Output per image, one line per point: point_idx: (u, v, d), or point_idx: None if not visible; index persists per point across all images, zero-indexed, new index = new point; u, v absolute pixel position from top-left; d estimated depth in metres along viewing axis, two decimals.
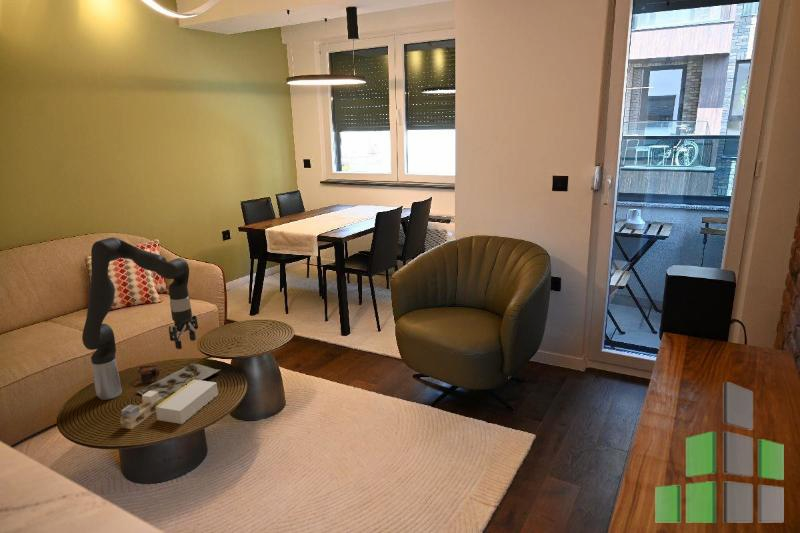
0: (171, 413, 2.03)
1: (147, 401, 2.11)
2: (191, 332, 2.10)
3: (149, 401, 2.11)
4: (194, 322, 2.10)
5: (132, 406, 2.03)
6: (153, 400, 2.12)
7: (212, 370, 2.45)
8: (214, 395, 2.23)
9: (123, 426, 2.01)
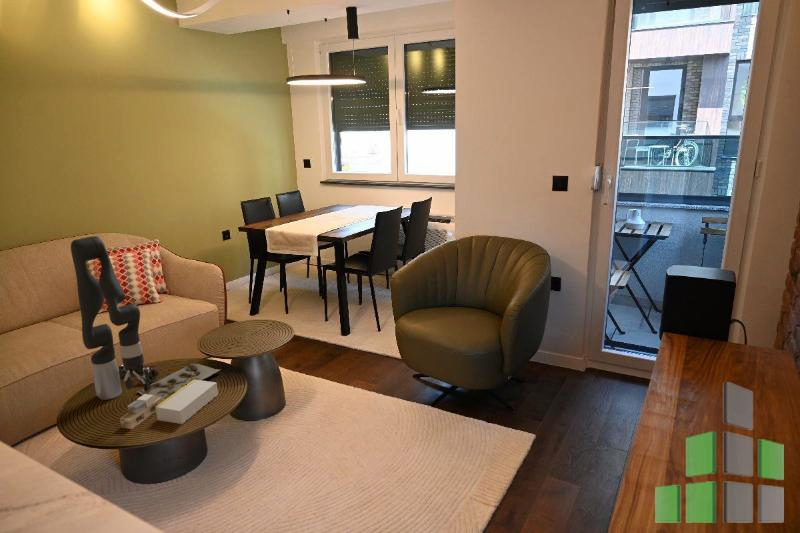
0: (171, 413, 2.03)
1: None
2: (129, 380, 2.06)
3: None
4: (125, 370, 2.06)
5: (138, 403, 2.05)
6: (148, 404, 2.09)
7: (212, 370, 2.45)
8: (214, 395, 2.23)
9: (123, 426, 2.01)
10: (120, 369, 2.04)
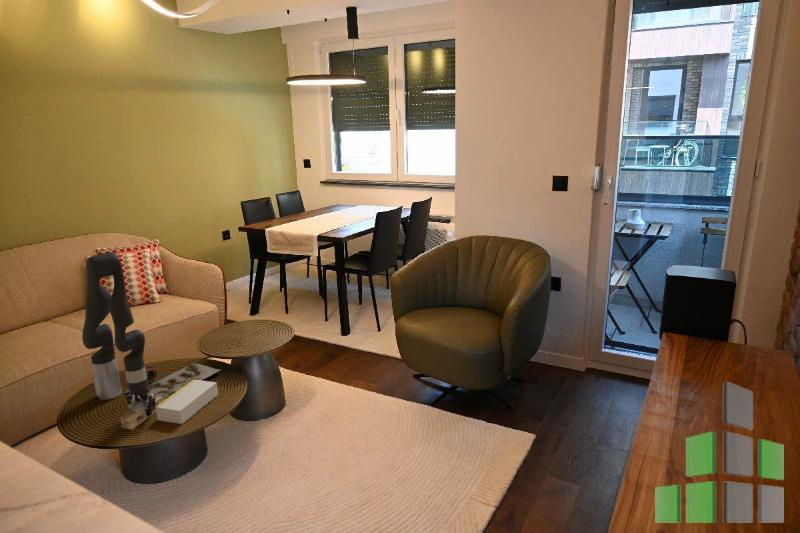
0: (171, 413, 2.03)
1: None
2: None
3: None
4: (131, 396, 2.09)
5: (139, 401, 2.06)
6: (147, 404, 2.08)
7: (212, 370, 2.45)
8: (214, 395, 2.23)
9: (123, 426, 2.01)
10: (126, 395, 2.07)
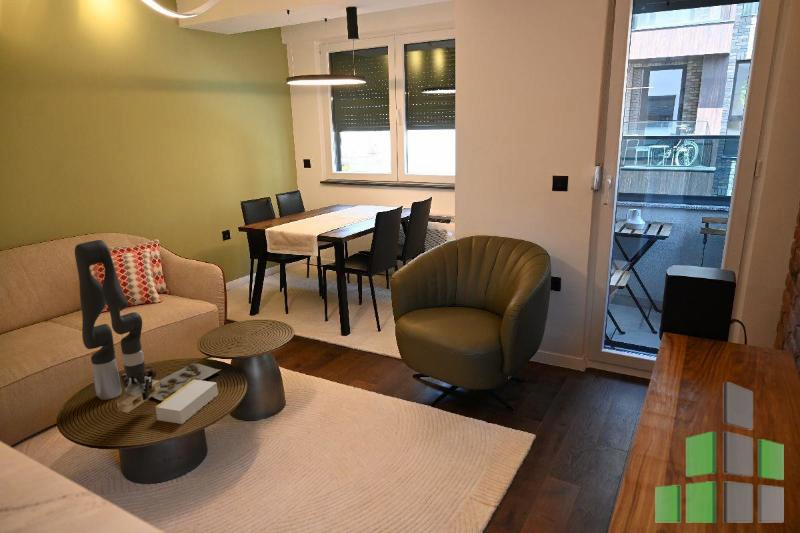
0: (171, 413, 2.03)
1: None
2: None
3: None
4: (128, 379, 2.07)
5: (135, 385, 2.04)
6: (144, 387, 2.06)
7: (213, 370, 2.45)
8: (214, 395, 2.23)
9: (119, 408, 1.99)
10: (122, 378, 2.05)
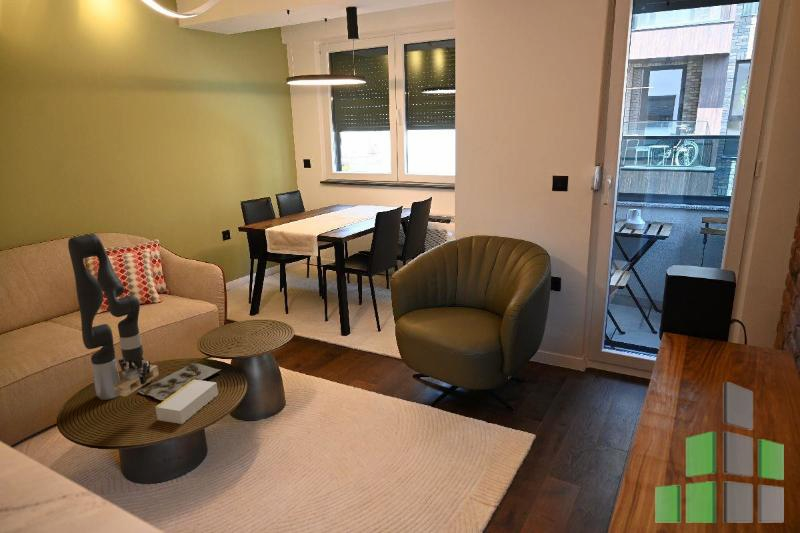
0: (171, 413, 2.03)
1: None
2: None
3: None
4: (126, 363, 2.05)
5: (133, 369, 2.02)
6: (142, 372, 2.04)
7: (213, 370, 2.45)
8: (214, 395, 2.23)
9: (117, 392, 1.97)
10: (120, 362, 2.03)
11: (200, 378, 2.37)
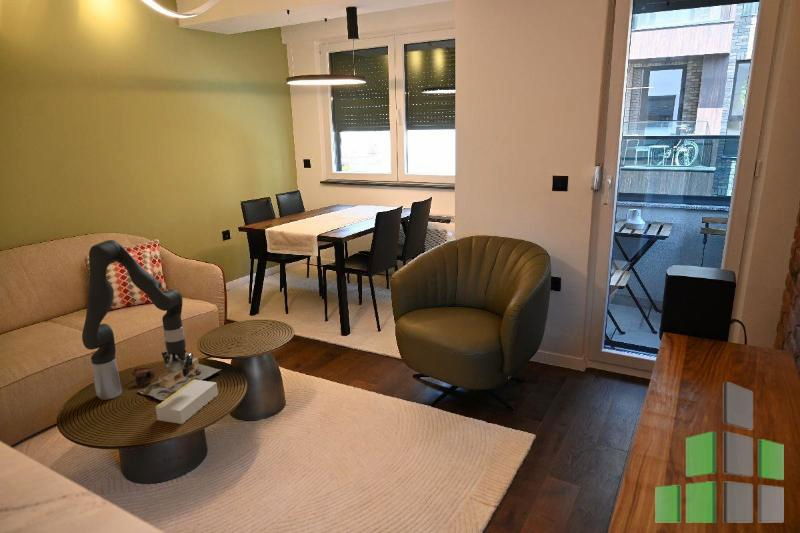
0: (171, 413, 2.03)
1: None
2: None
3: None
4: (168, 356, 2.11)
5: (176, 361, 2.07)
6: (184, 364, 2.10)
7: (213, 370, 2.45)
8: (214, 395, 2.23)
9: (161, 384, 2.03)
10: (163, 355, 2.09)
11: (200, 378, 2.37)
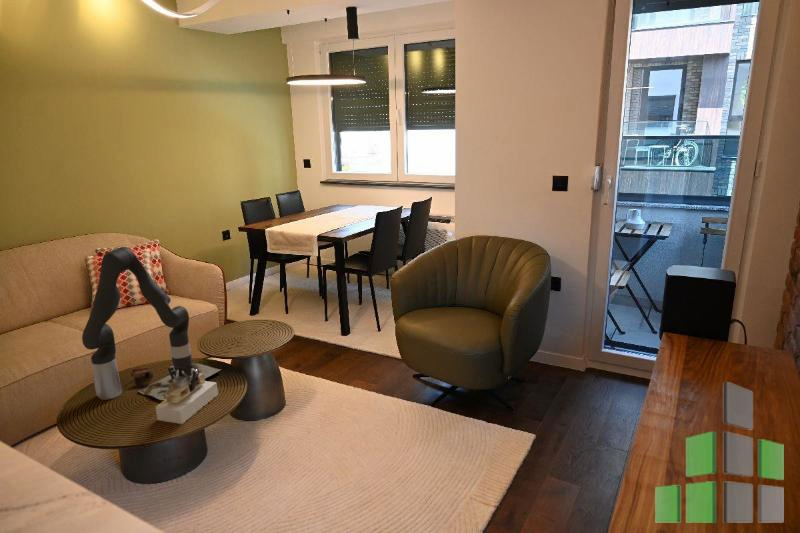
0: (171, 413, 2.03)
1: None
2: None
3: None
4: (175, 371, 2.14)
5: (182, 377, 2.10)
6: (190, 379, 2.13)
7: (213, 370, 2.45)
8: (214, 395, 2.23)
9: (168, 399, 2.05)
10: (170, 370, 2.12)
11: None
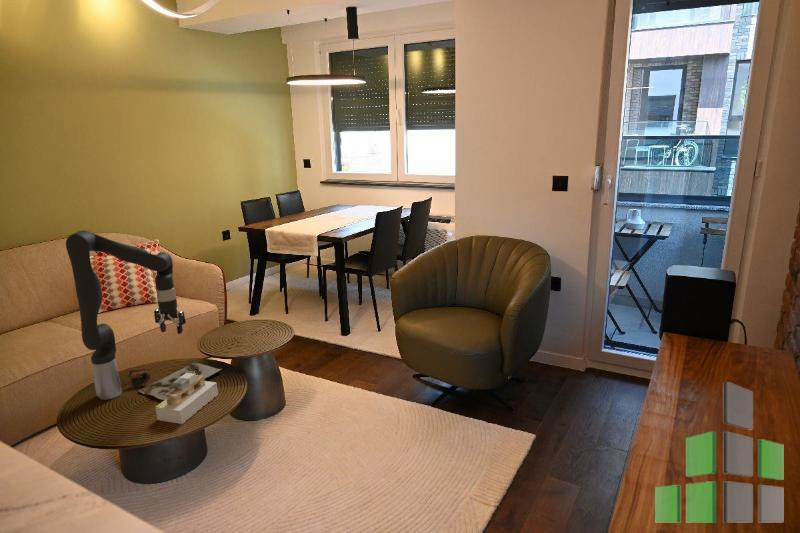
0: (171, 413, 2.03)
1: None
2: (163, 324, 2.23)
3: None
4: (159, 314, 2.23)
5: (183, 379, 2.11)
6: (190, 382, 2.13)
7: (213, 369, 2.45)
8: (214, 395, 2.23)
9: (169, 402, 2.06)
10: (155, 313, 2.21)
11: None
